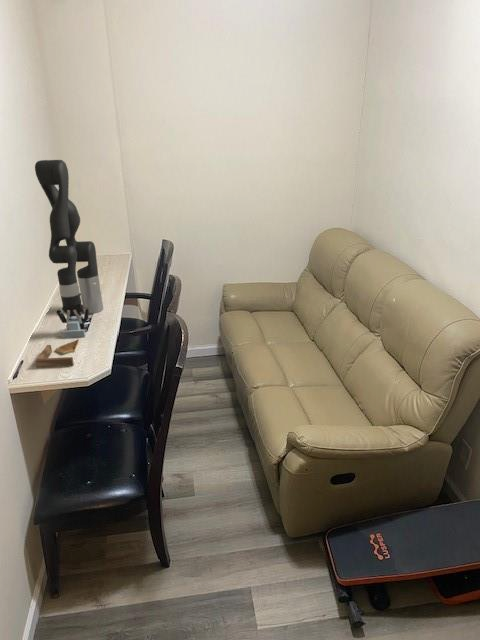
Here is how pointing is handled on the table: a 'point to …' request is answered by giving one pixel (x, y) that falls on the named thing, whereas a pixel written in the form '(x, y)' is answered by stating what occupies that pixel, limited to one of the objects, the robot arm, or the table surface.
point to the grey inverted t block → (73, 329)
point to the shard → (67, 347)
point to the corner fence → (52, 359)
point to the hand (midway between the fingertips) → (76, 330)
